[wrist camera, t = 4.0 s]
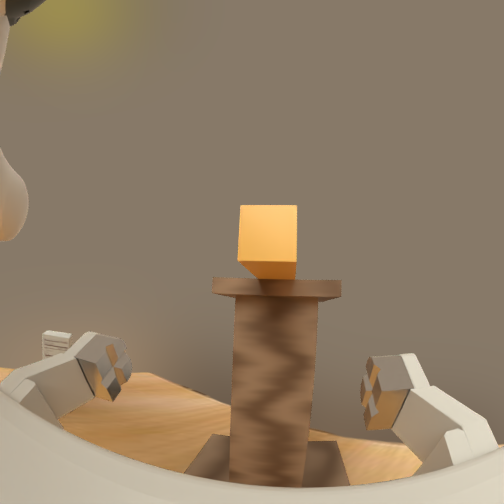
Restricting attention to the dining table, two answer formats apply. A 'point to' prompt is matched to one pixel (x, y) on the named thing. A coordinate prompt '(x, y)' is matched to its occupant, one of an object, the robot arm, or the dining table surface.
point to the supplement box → (55, 343)
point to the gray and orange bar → (268, 240)
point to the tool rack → (273, 389)
